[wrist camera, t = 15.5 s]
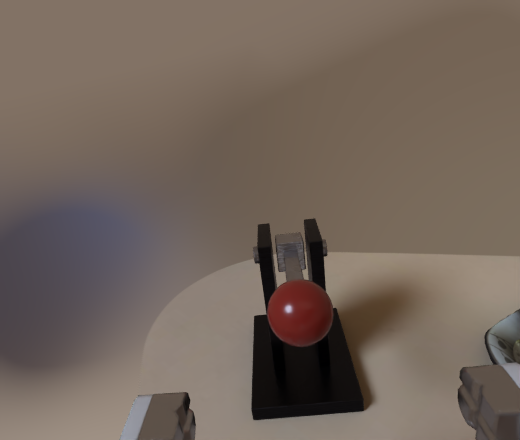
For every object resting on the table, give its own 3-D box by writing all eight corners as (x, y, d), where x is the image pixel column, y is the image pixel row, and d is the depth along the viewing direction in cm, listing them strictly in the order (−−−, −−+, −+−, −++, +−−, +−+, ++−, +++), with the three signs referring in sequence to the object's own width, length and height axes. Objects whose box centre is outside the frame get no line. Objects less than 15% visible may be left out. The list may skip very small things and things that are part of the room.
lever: (341, 357, 19) (336, 292, 18) (271, 363, 19) (263, 299, 19) (311, 263, 33) (307, 224, 32) (270, 268, 33) (266, 228, 32)
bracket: (364, 411, 30) (361, 263, 25) (253, 420, 31) (227, 277, 25) (336, 317, 41) (331, 200, 36) (255, 324, 42) (237, 210, 36)
